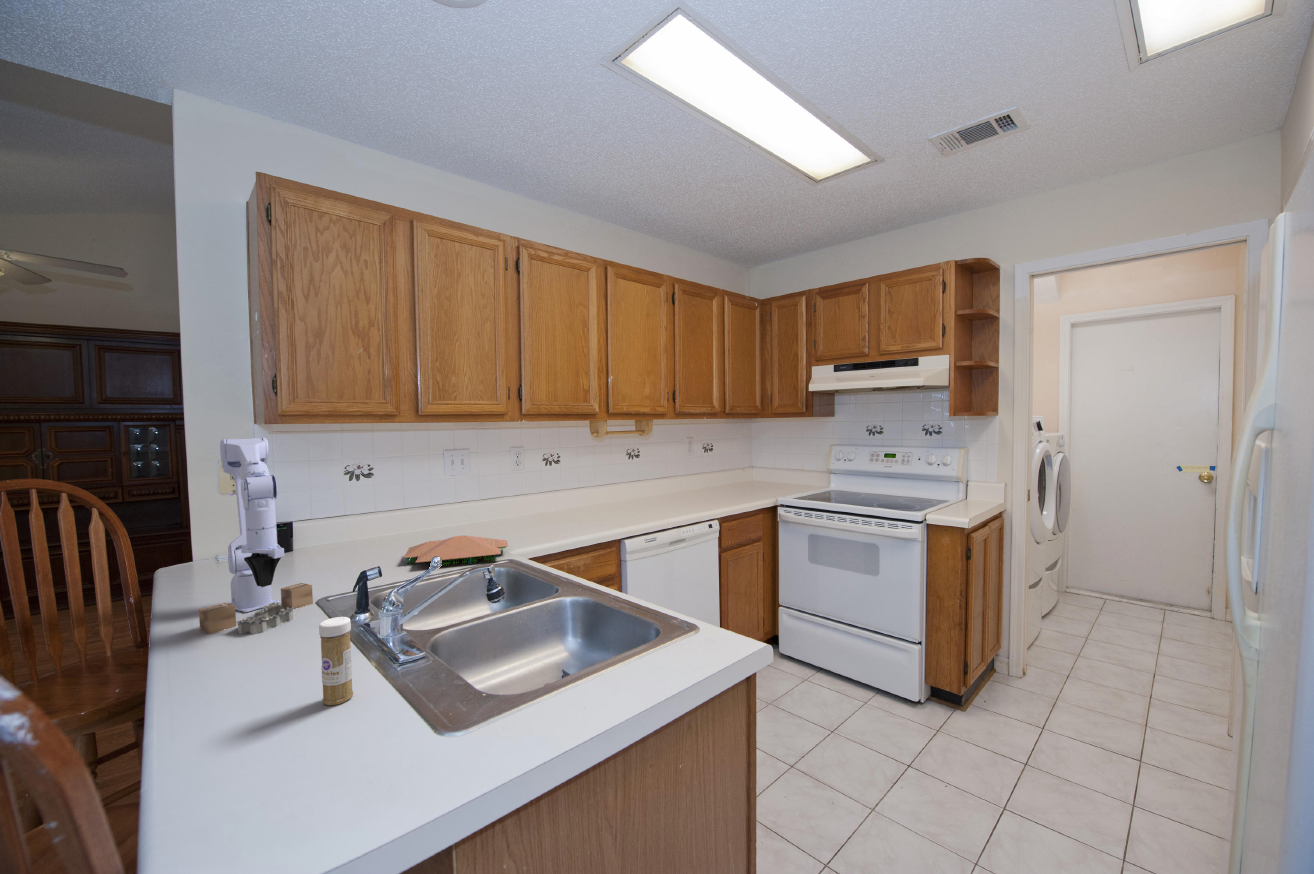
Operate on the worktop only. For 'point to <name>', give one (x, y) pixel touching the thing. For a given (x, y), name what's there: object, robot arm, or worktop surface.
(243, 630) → the egg carton
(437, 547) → the house
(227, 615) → the numbered block seven
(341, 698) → the sprinkles bottle
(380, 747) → the worktop surface
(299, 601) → the numbered block one
